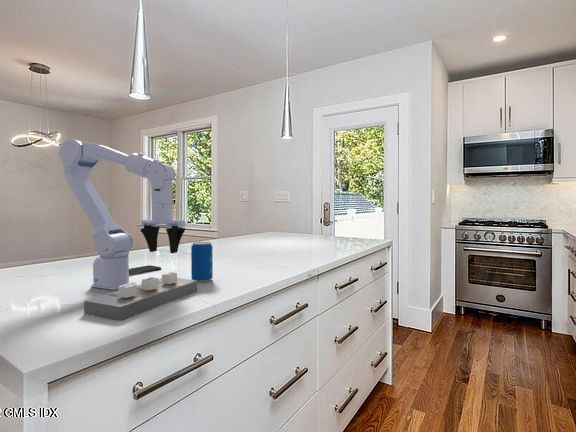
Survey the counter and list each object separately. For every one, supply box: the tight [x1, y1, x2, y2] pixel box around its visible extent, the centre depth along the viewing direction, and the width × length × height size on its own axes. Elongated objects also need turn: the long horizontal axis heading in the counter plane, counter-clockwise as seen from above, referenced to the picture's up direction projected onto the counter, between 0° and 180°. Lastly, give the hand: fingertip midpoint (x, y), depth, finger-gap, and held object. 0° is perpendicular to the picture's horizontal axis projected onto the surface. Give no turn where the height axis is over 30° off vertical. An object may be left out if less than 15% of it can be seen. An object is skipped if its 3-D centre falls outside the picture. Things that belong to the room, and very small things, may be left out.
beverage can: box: [190, 241, 214, 283], centre depth 109 cm, size 6×6×12 cm
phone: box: [129, 264, 162, 277], centre depth 122 cm, size 8×1×15 cm
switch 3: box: [161, 271, 178, 284], centre depth 93 cm, size 2×3×2 cm
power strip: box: [83, 277, 199, 322], centre depth 89 cm, size 11×31×3 cm, turn 158°
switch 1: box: [117, 283, 138, 298], centre depth 80 cm, size 2×3×2 cm
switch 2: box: [141, 277, 159, 291], centre depth 86 cm, size 2×3×2 cm
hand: (163, 252), depth 100 cm, fingers open, 7 cm apart
